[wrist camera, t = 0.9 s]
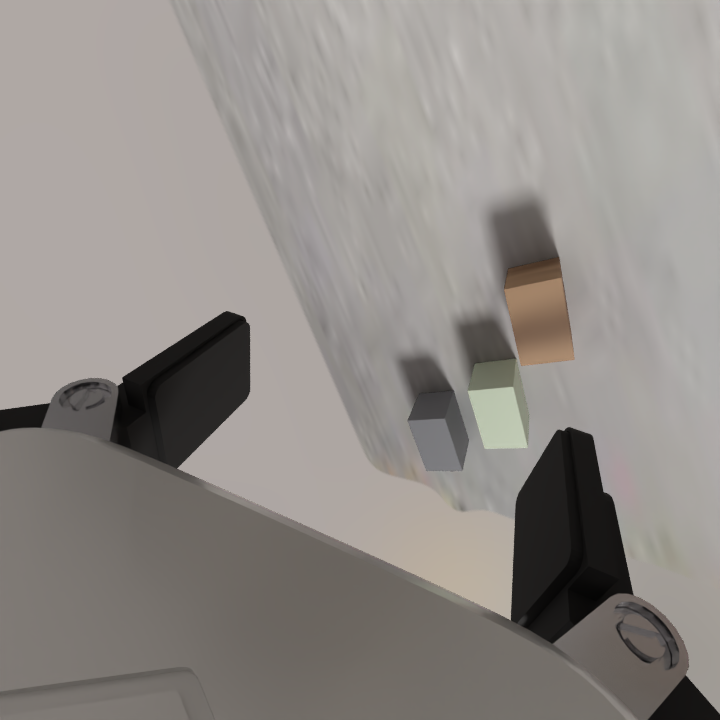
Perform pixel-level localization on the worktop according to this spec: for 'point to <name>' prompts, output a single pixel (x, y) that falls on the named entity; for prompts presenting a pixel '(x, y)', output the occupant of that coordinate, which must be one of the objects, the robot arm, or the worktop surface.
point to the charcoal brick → (439, 431)
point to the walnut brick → (539, 312)
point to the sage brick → (499, 404)
